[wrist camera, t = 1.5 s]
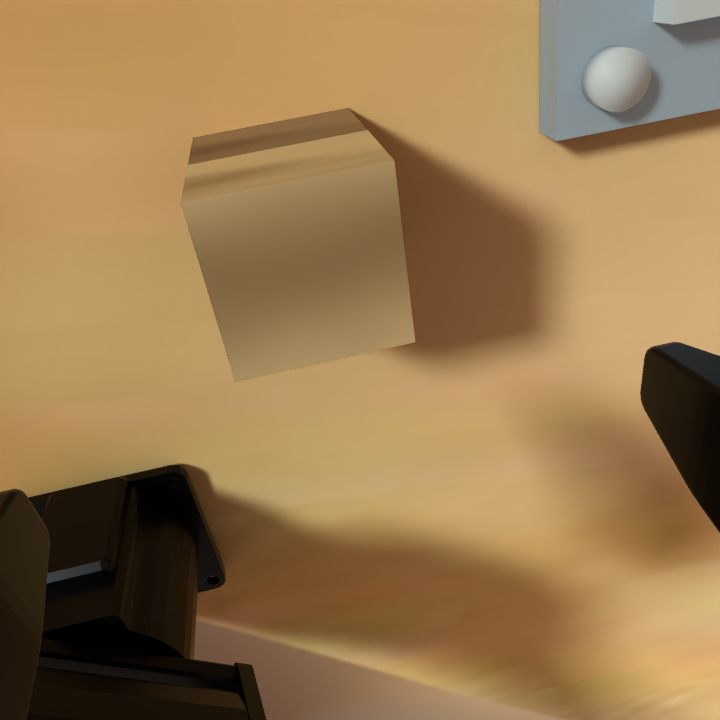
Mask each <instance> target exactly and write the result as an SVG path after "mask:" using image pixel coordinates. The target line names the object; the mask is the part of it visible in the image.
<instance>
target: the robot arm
mask: <svg viewBox="0 0 720 720" xmlns="http://www.w3.org/2000/svg"><path fill="white" fill-rule="evenodd" d="M640 395H641V401H642V405H643V407H644V409H645V411H646V413H647V415H648V417H649V419H650V420H651V422H652V424H653V426H654V427H655V429H656V431H657V433H658V435H659V436H660V438H661V440H662V442H663V444H664V445H665V447H666V449H667V451H668V452H669V454H670V456H671V458H672V460H673V461H674V463H675V465H676V467H677V469H678V470H679V472H680V474H681V476H682V478H683V479H684V481H685V483H686V484H687V486H688V488H689V489H690V491H691V493H692V494H693V496H694V497H695V498H696V500H697V501H698V503H699V504H700V506H701V507H702V509H703V510H704V511H705V513H706V514H707V516H708V517H709V518H710V520H711V521H712V523H713V524H714V525H715V527H716V528H717V530H718V531H719V532H720V356H718V355H715V354H712V353H709V352H706V351H703V350H700V349H697V348H694V347H691V346H688V345H685V344H682V343H679V342H671V343H667V344H662V345H658V346H653V347H651V348H649V349H648V350H647V352H646V354H645V358H644V366H643V374H642V383H641V392H640ZM173 477H175V478H177V479H178V480H176V481H171V480H169V478H173ZM211 576H215V577H211ZM224 582H225V568H224V566H223V563H222V561H221V558H220V556H219V553H218V550H217V548H216V545H215V543H214V540H213V538H212V535H211V533H210V530H209V527H208V525H207V522H206V520H205V517H204V515H203V512H202V510H201V507H200V504H199V502H198V499H197V497H196V494H195V492H194V489H193V487H192V484H191V481H190V479H189V476H188V474H187V472H186V470H185V469H184V468H182V467H181V466H177V465H169V466H165V467H161V468H156V469H152V470H148V471H143V472H139V473H134V474H130V475H126V476H121V477H116V478H112V479H108V480H103V481H99V482H94V483H90V484H86V485H81V486H77V487H73V488H68V489H64V490H59V491H55V492H51V493H47V494H42V495H38V496H34V497H29V498H28V497H27V495H26V494H25V493H24V492H23V491H21V490H19V489H11V490H7V491H2V492H0V720H266V717H265V713H264V709H263V705H262V701H261V697H260V694H259V690H258V686H257V682H256V678H255V674H254V671H253V667H252V665H249V664H243V663H235V664H234V665H228V664H221V663H215V662H208V661H201V660H194V654H195V633H196V611H197V593H198V592H202V591H207V590H211V589H215V588H218V587H220V586H222V585H223V584H224Z"/></svg>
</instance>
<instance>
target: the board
mask: <svg viewBox="0 0 720 720" xmlns="http://www.w3.org/2000/svg"><path fill="white" fill-rule="evenodd" d="M715 109H720V0H540V133H542V134H543V135H545V136H547V137H549V138H551V139H553V140H555V141H561V140H566V139H571V138H576V137H581V136H586V135H591V134H596V133H601V132H606V131H611V130H616V129H621V128H626V127H631V126H636V125H641V124H646V123H651V122H656V121H661V120H666V119H671V118H676V117H680V116H685V115H690V114H695V113H700V112H705V111H710V110H715Z"/></svg>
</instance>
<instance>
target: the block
mask: <svg viewBox="0 0 720 720" xmlns="http://www.w3.org/2000/svg"><path fill="white" fill-rule="evenodd" d="M181 205H182V209H183V212H184V215H185V218H186V222H187V225H188V228H189V232H190V235H191V238H192V241H193V245H194V248H195V251H196V254H197V258H198V261H199V264H200V268H201V271H202V274H203V277H204V281H205V284H206V287H207V291H208V294H209V297H210V300H211V304H212V307H213V310H214V313H215V317H216V320H217V323H218V327H219V330H220V333H221V336H222V340H223V343H224V346H225V349H226V353H227V356H228V359H229V363H230V366H231V369H232V372H233V376H234V379H235V382H237V381H242V380H246V379H251V378H256V377H260V376H265V375H269V374H274V373H278V372H283V371H287V370H292V369H296V368H301V367H305V366H310V365H314V364H319V363H323V362H328V361H333V360H337V359H342V358H346V357H351V356H355V355H360V354H364V353H369V352H373V351H378V350H382V349H387V348H391V347H396V346H400V345H405V344H409V343H414V342H415V334H414V326H413V317H412V308H411V300H410V291H409V282H408V274H407V265H406V256H405V248H404V239H403V230H402V222H401V213H400V204H399V196H398V187H397V178H396V170H395V161H394V159H393V158H392V157H391V156H390V155H389V154H388V152H387V151H386V150H385V149H384V148H383V147H382V146H381V145H380V143H379V142H378V141H377V140H376V139H375V138H374V137H373V135H372V134H371V133H370V132H369V131H368V130H367V129H366V127H365V126H364V125H363V124H362V123H361V122H360V121H359V119H358V118H357V117H356V116H355V115H354V114H353V113H352V112H351V110H350V109H349V108H346V109H341V110H335V111H330V112H325V113H320V114H315V115H309V116H304V117H299V118H294V119H288V120H283V121H278V122H273V123H268V124H262V125H257V126H252V127H247V128H242V129H236V130H231V131H226V132H221V133H215V134H210V135H205V136H200V137H195V138H193V140H192V146H191V151H190V156H189V162H188V167H187V172H186V178H185V183H184V188H183V194H182V199H181Z"/></svg>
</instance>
